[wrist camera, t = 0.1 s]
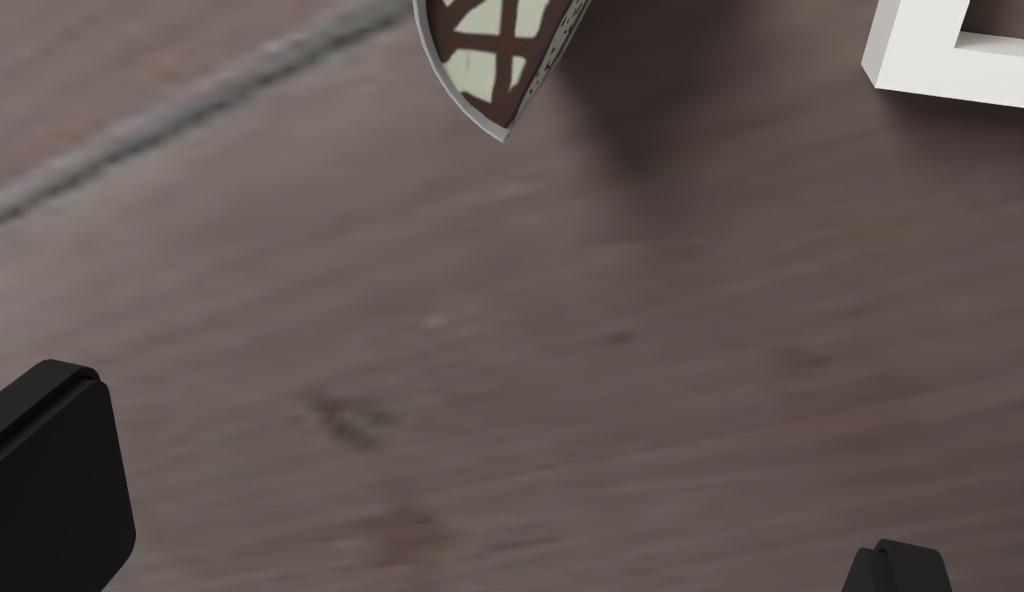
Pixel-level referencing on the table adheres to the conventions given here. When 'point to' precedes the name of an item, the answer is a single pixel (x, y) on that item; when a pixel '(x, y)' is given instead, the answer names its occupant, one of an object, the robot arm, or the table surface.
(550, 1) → the food container
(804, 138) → the table surface
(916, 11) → the socket block
